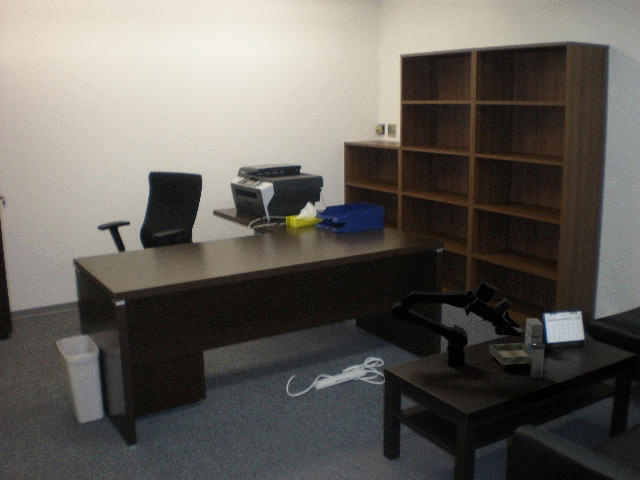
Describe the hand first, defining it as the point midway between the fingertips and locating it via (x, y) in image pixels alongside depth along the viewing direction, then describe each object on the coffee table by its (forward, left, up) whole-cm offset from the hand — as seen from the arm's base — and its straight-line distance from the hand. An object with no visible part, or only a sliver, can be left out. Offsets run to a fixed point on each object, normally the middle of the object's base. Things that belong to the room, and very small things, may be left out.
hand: (520, 331), depth 254 cm
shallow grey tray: (0, +6, -15) cm, 16 cm away
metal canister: (+4, -8, -15) cm, 18 cm away
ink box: (+15, +20, -16) cm, 29 cm away
